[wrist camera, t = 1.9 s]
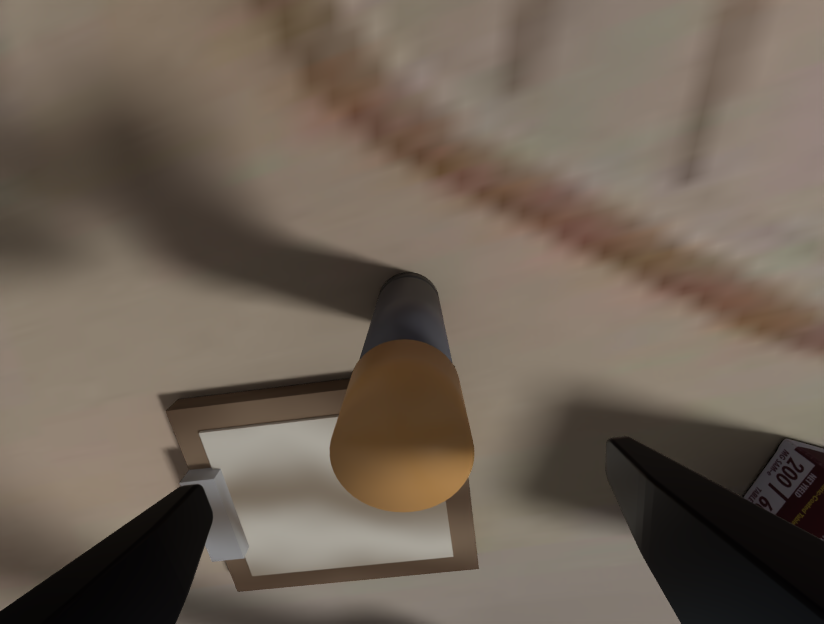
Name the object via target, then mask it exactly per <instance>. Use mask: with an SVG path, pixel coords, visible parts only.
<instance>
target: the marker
mask: <svg viewBox="0 0 824 624" xmlns="http://www.w3.org/2000/svg"><path fill="white" fill-rule="evenodd" d="M329 449H330V461H331V466H332V469H333V472H334V474H335V475H336V477H337V479H338V481H339V482H340V483H341V485H342V486H343V487H344V488H345V489H346V490H347V491H348V492H349V493H350V494H351V495H352V496H353V497H355V498H356V499H358V500H359V501H361V502H363V503H365V504H367V505H369V506H372V507H374V508H377V509H381V510H385V511H391V512H414V511H421V510H424V509H428V508H431V507H434V506H436V505H438V504H440V503H442V502H444V501H446V500H447V499H449V498H450V497H452V496H453V495H454V494H455V493H456V492H457V491H458V490H459V489H460V488H461V487H462V486H463V485H464V483H465V482H466V480H467V479H468V476H469V474H470V472H471V469H472V466H473V462H474V445H473V440H472V435H471V431H470V426H469V422H468V417H467V413H466V408H465V404H464V399H463V395H462V390H461V386H460V381H459V377H458V374H457V371H456V369H455V367H454V365H453V364H452V359H451V354H450V349H449V344H448V340H447V335H446V330H445V325H444V320H443V315H442V310H441V306H440V301H439V296H438V292H437V290H436V288H435V286H434V285H433V284H432V282H431V281H430V280H428V279H427V278H426V277H424V276H422V275H420V274H417V273H409V272H408V273H401V274H398V275H395V276H393V277H392V278H390V279H389V280H388V281H387V282H386V283H385V284H384V285H383V287H382V289H381V291H380V294H379V297H378V300H377V303H376V307H375V310H374V313H373V317H372V320H371V323H370V327H369V330H368V333H367V337H366V340H365V343H364V347H363V350H362V353H361V356H360V360H359V361H358V363H357V364H356V366H355V368H354V370H353V372H352V375H351V378H350V381H349V384H348V388H347V391H346V394H345V397H344V400H343V403H342V406H341V409H340V413H339V416H338V419H337V422H336V425H335V428H334V431H333V435H332V438H331V442H330V448H329Z"/></svg>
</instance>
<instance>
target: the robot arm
mask: <svg viewBox="0 0 824 624" xmlns="http://www.w3.org/2000/svg"><path fill="white" fill-rule="evenodd" d="M606 475H607V479H608V482H609V484H610V486H611V488H612V491H613V493H614V495H615V497H616V499H617V502H618V504H619V506H620V508H621V510H622V513H623V515H624V517H625V519H626V522H627V524H628V526H629V528H630V530H631V533H632V535H633V537H634V539H635V541H636V544H637V546H638V548H639V550H640V552H641V554H642V556H643V558H644V559H645V561H646V563H647V565H648V567H649V568H650V570H651V572H652V574H653V575H654V577H655V579H656V581H657V582H658V584H659V586H660V588H661V589H662V591H663V593H664V595H665V596H666V598H667V600H668V601H669V603H670V605H671V607H672V608H673V610H674V612H675V614H676V615H677V617H678V619H679V621H680V622H681V624H824V540H822V539H820V538H818V537H816V536H814V535H812V534H810V533H809V532H807V531H805V530H803V529H801V528H799V527H797V526H795V525H793V524H792V523H790V522H788V521H786V520H784V519H782V518H780V517H778V516H777V515H775V514H773V513H771V512H769V511H767V510H765V509H763V508H762V507H760V506H758V505H756V504H754V503H752V502H750V501H748V500H747V499H745V498H743V497H741V496H739V495H737V494H735V493H733V492H732V491H730V490H728V489H726V488H724V487H722V486H720V485H718V484H717V483H715V482H713V481H711V480H709V479H707V478H705V477H703V476H702V475H700V474H698V473H696V472H694V471H692V470H690V469H688V468H686V467H685V466H683V465H681V464H679V463H677V462H675V461H673V460H671V459H670V458H668V457H666V456H664V455H662V454H660V453H658V452H656V451H655V450H653V449H651V448H649V447H647V446H645V445H643V444H641V443H640V442H638V441H636V440H634V439H632V438H630V437H626V436H624V437H615V438H610V439H608V440H607V443H606ZM212 522H213V511H212V508H211V505H210V503H209V500H208V498H207V495H206V492H205V490H204V488H203V486H201V485H200V484H191V485H184V486H180V487H179V488H177V489H176V490H174V491H173V492H171V493H170V494H169V495H167V496H166V497H164V498H163V499H161V500H160V501H158V502H157V503H156V504H154V505H153V506H151V507H150V508H148V509H147V510H145V511H144V512H143V513H141V514H140V515H138V516H137V517H135V518H134V519H133V520H131V521H130V522H128V523H127V524H125V525H124V526H122V527H121V528H120V529H118V530H117V531H115V532H114V533H112V534H111V535H109V536H108V537H107V538H105V539H104V540H102V541H101V542H99V543H98V544H96V545H95V546H94V547H92V548H91V549H89V550H88V551H86V552H85V553H84V554H82V555H81V556H79V557H78V558H76V559H75V560H73V561H72V562H71V563H69V564H68V565H66V566H65V567H63V568H62V569H60V570H59V571H58V572H56V573H55V574H53V575H52V576H50V577H49V578H48V579H46V580H45V581H43V582H42V583H40V584H39V585H37V586H36V587H35V588H33V589H32V590H30V591H29V592H27V593H26V594H24V595H23V596H22V597H20V598H19V599H17V600H16V601H14V602H13V603H12V604H10V605H9V606H7V607H6V608H4V609H3V610H1V611H0V624H175V623H176V621H177V619H178V617H179V614H180V612H181V610H182V607H183V605H184V602H185V600H186V598H187V595H188V592H189V590H190V587H191V584H192V581H193V579H194V576H195V573H196V570H197V567H198V564H199V561H200V558H201V555H202V552H203V549H204V546H205V543H206V540H207V537H208V534H209V532H210V529H211V526H212Z"/></svg>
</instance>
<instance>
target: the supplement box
mask: <svg viewBox="0 0 824 624" xmlns="http://www.w3.org/2000/svg"><path fill="white" fill-rule="evenodd" d="M743 498H745V499H747V500H748V501H750V502H752V503H754V504H756V505H758V506H760V507H762V508H763V509H765V510H767V511H769V512H771V513H773V514H775V515H777V516H778V517H780V518H782V519H784V520H786V521H788V522H790V523H792V524H793V525H795V526H797V527H799V528H801V529H803V530H805V531H807V532H809V533H810V534H812V535H814V536H816V537H818V538H820V539H822V540H824V449H823V448H819V447H816V446H812V445H808V444H805V443H801V442H798V441H794V440H790V439H784V440H783V441H782V443H781V444H780V446H779V448H778V450H777V452H776V453H775V454H774V456H773V457H772V459H771V460H770V461H769V463H768V464H767V466H766V467H765V468H764V470H763V471H762V473H761V474H760V475H759V477H758V478H757V480H756V481H755V482H754V484H753V485H752V486H751V488H750V489H749V490H748V492H747V493H746V495H745V496H744V497H743Z"/></svg>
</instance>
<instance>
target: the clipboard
mask: <svg viewBox="0 0 824 624" xmlns="http://www.w3.org/2000/svg"><path fill="white" fill-rule="evenodd" d="M454 367H455V366H454ZM349 381H350V378H349V379H341V380H333V381H325V382H316V383H308V384H300V385H292V386H284V387H275V388H267V389H259V390H251V391H243V392H234V393H226V394H218V395H210V396H202V397H194V398H185V399H178V400H177V401H176V402H175V403H174V404H173V405H172V406H171V407H170V408H168V409H167V410H166V413H167V416H168V418H169V421H170V423H171V426H172V428H173V431H174V433H175V436H176V438H177V441H178V443H179V446H180V448H181V451H182V453H183V456H184V458H185V461H186V463H187V466H188V468H189V471H188V472H187V473H186V475H185V476H184V477H183V479H182V480H181V481H180V486H184V485H191V484H200V485H201V486H203V488H204V490H205V492H206V495H207V498H208V500H209V503H210V505H211V508H212V511H213V522H212V526H211V529H210V532H209V534H208V537H207V540H206V543H205V546H206V548H207V551H208V553H209V556H210V558H211V561H212V562H214V561H224V560H225V561H226V564H227V566H228V569H229V571H230V574H231V576H232V579H233V581H234V584H235V586H236V589H237V591H238V592H240V591H251V590H261V589H272V588H283V587H293V586H304V585H314V584H325V583H335V582H346V581H356V580H367V579H377V578H388V577H398V576H409V575H419V574H430V573H440V572H451V571H461V570H472V569H479V566H478V558H477V549H476V540H475V531H474V523H473V514H472V505H471V497H470V488H469V479H467V480H466V482H465V483H464V485H463V486H462V487H461V488H460V489H459V490H458V491H457V492H456V493H455V494H454V495H453V496H452V497H450V498H449V499H447V500H446V501H444V502H442V503H440V504H438V505H436V506H434V507H431V508H428V509H424V510H421V511H414V512H391V511H385V510H381V509H377V508H374V507H372V506H369V505H367V504H365V503H363V502H361V501H359V500H358V499H356V498H355V497H353V496H352V495H351V494H350V493H349V492H348V491H347V490H346V489H345V488H344V487H343V486H342V485H341V483H340V482H339V481H338V479H337V477H336V475H335V474H334V472H333V469H332V466H331V461H330V449H329V448H330V442H331V438H332V435H333V431H334V428H335V425H336V422H337V419H338V416H339V413H340V409H341V406H342V403H343V400H344V397H345V394H346V391H347V388H348V384H349Z"/></svg>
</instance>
